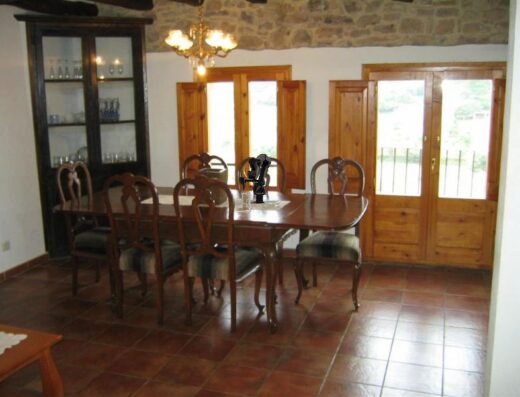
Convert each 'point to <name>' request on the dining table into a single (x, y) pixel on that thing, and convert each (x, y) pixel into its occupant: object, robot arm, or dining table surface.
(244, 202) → the birch stand
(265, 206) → the dining table surface
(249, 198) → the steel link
